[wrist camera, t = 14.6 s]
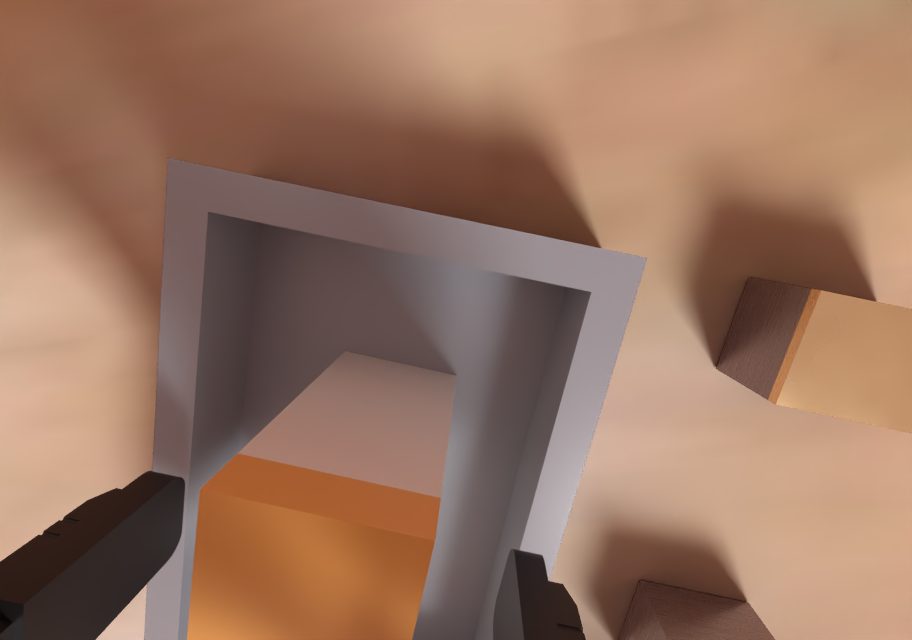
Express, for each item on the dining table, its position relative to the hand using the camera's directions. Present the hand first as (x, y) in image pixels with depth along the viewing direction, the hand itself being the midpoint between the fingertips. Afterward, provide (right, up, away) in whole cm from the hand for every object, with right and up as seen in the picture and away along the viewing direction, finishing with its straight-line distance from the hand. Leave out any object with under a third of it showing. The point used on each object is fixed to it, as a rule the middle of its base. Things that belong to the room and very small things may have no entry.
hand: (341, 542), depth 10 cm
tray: (0, +1, +5) cm, 5 cm away
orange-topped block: (0, +1, +4) cm, 4 cm away
